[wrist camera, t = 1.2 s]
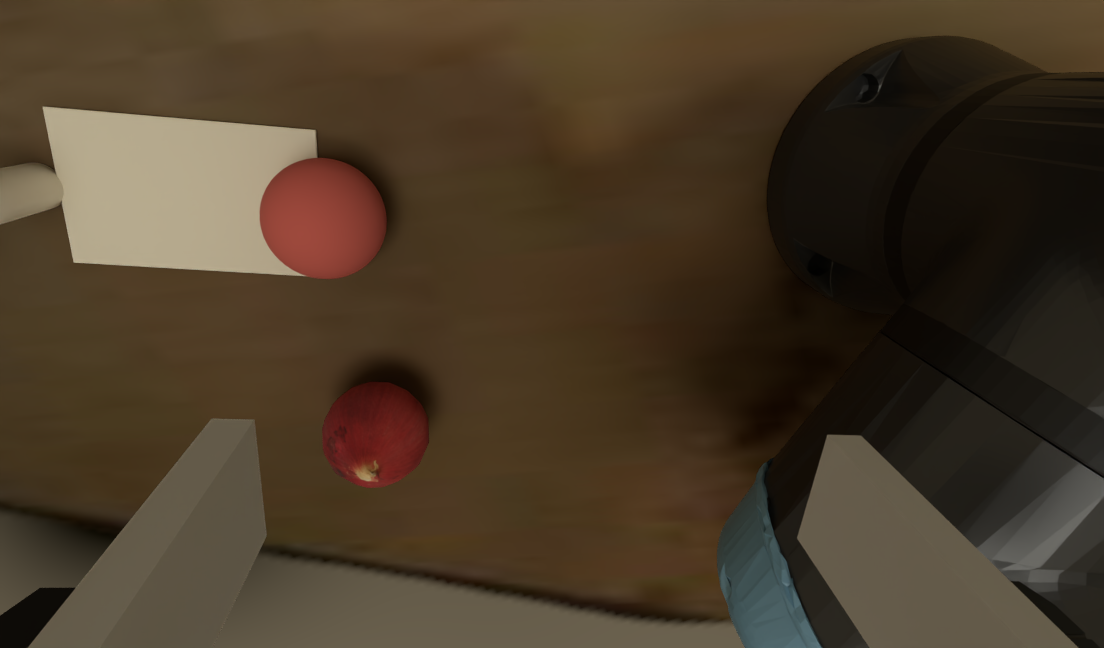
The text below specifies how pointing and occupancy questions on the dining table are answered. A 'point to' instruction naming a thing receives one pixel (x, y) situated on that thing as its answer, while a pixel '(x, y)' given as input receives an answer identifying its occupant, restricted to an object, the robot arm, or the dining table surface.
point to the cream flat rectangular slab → (169, 188)
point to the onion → (375, 434)
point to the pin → (28, 190)
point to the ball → (323, 218)
